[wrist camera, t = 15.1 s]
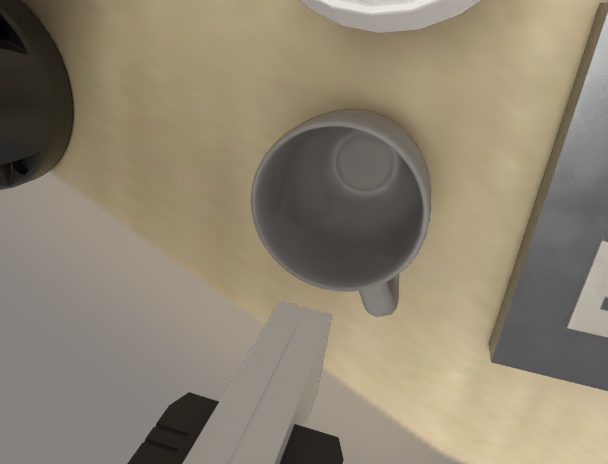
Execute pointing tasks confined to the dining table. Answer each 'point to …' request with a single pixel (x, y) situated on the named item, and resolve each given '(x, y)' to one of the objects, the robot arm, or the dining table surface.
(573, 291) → the chassis
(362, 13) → the cup
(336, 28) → the dining table surface
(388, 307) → the mug
